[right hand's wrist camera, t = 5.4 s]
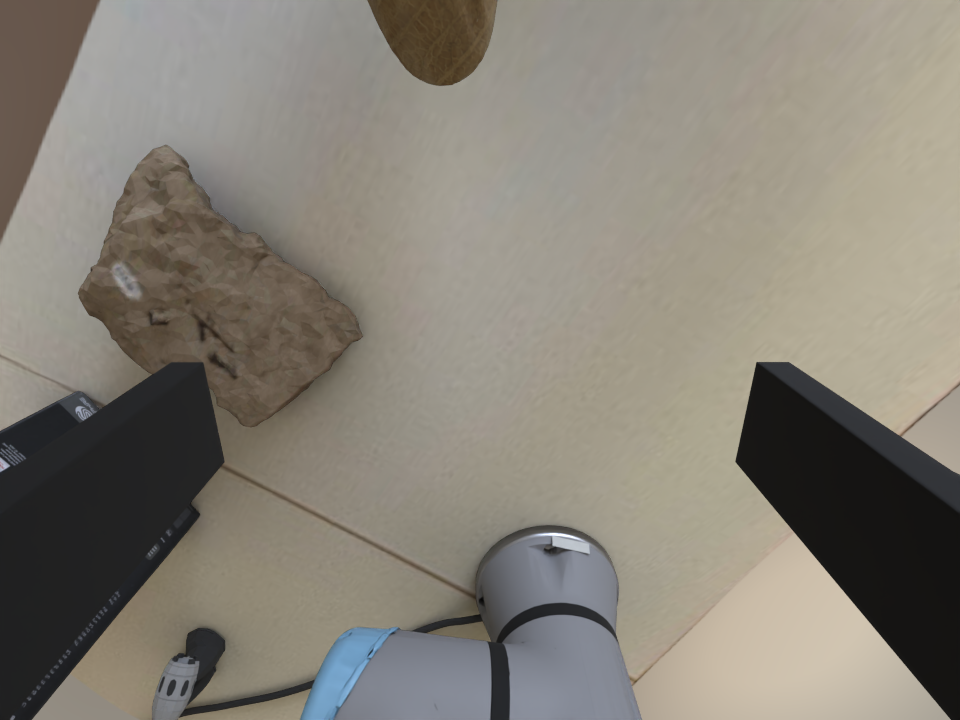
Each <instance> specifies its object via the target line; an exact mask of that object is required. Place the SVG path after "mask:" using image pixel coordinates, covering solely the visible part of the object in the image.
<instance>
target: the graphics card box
mask: <svg viewBox="0 0 960 720" xmlns="http://www.w3.org/2000/svg"><path fill="white" fill-rule="evenodd" d="M97 411H99V408H98V407H97V406H96V405H95V404H94V403H93V402H92V401H91V400H90V399H89V398H88V397H87V396H86V395H85V394H84V393H82V392H80V391H77V392H75V393H73V394H71V395H69V396H67V397H65V398H63V399H61V400H59V401H57V402H55V403H53V404H51V405H49V406H47V407H45V408H43V409H42V410H40V411H38V412H36V413H34V414H32V415H30V416H28V417H26V418H24V419H22V420H20V421H18V422H16V423H15V424H13V425H11V426H9V427H7V428H5V429H3V430H1V431H0V476H1V475H3V474H4V473H6V472H7V471H9V470H10V469H12V468H13V467H15V466H16V465H18V464H19V463H21V462H22V461H24V460H25V459H27V458H28V457H30V456H31V455H33V454H34V453H36V452H37V451H39V450H40V449H42V448H43V447H45V446H46V445H48V444H49V443H51V442H52V441H54V440H55V439H57V438H58V437H60V436H61V435H63V434H64V433H66V432H67V431H69V430H70V429H72V428H73V427H75V426H76V425H78V424H79V423H81V422H82V421H84V420H85V419H87V418H88V417H90V416H91V415H93V414H94V413H96V412H97ZM199 516H200V513H199V512H198V511H197V510H196V509H195V508H194V507H193V506H192V505H191V504H189V505H188V506H187V507H186V509H185V510H184V511H183V512H182V513H181V515H180V516H179V517H178V518H177V519H176V521H175V522H174V523H173V524H172V525H171V527H170V528H169V529H168V530H167V531H166V532H165V534H164V535H163V536H162V537H161V538H160V540H159V541H158V542H157V543H156V544H155V546H154V547H153V548H152V549H151V550H150V552H149V553H148V554H147V555H146V556H145V558H144V559H143V560H142V561H141V562H140V564H139V565H138V566H137V567H136V568H135V570H134V571H133V572H132V573H131V574H130V576H129V577H128V578H127V579H126V580H125V582H124V583H123V584H122V585H121V586H120V588H119V589H118V590H117V591H116V592H115V594H114V595H113V596H112V597H111V598H110V599H109V601H108V602H107V603H106V604H105V605H104V607H103V608H102V609H101V610H100V611H99V613H98V614H97V615H96V616H95V617H94V619H93V620H92V621H91V622H90V623H89V625H88V626H87V627H86V628H85V629H84V631H83V632H82V633H81V634H80V635H79V637H78V638H77V639H76V640H75V641H74V643H73V644H72V645H71V646H70V647H69V649H68V650H67V651H66V652H65V653H64V655H63V656H62V657H61V658H60V659H59V660H58V662H57V663H56V664H55V665H54V666H53V668H52V669H51V670H50V671H49V672H48V674H47V675H46V676H45V677H44V678H43V680H42V681H41V682H40V683H39V684H38V686H37V687H36V688H35V689H34V690H33V692H32V693H31V694H30V695H29V696H28V698H27V699H26V700H25V701H24V702H23V704H22V705H21V706H20V707H19V708H18V710H17V711H16V712H15V713H14V714H13V716H12V717H11V718H10V719H9V720H32V719H33V718H34V716H35V715H36V714H37V713H38V712H39V710H40V709H41V708H42V707H43V705H44V704H45V703H46V702H47V701H48V699H49V698H50V697H51V696H52V694H53V693H54V692H55V691H56V689H57V688H58V687H59V686H60V685H61V684H62V682H63V681H64V680H65V679H66V677H67V676H68V675H69V674H70V672H71V671H72V670H73V669H74V667H75V666H76V665H77V664H78V663H79V662H80V660H81V659H82V658H83V657H84V655H85V654H86V653H87V652H88V651H89V649H90V648H91V647H92V646H93V644H94V643H95V642H96V641H97V640H98V638H99V637H100V636H101V635H102V633H103V632H104V631H105V630H106V629H107V627H108V626H109V625H110V624H111V622H112V621H113V620H114V619H115V618H116V616H117V615H118V614H119V613H120V612H121V610H122V609H123V608H124V607H125V605H126V604H127V603H128V602H129V601H130V600H131V598H132V597H133V596H134V595H135V594H136V593H137V591H138V590H139V589H140V588H141V587H142V586H143V584H144V583H145V582H146V581H147V580H148V578H149V577H150V576H151V575H152V574H153V573H154V571H155V570H156V569H157V568H158V567H159V565H160V564H161V563H162V562H163V561H164V559H165V558H166V557H167V556H168V555H169V554H170V552H171V551H172V549H173V548H174V547H175V546H176V545H177V543H178V542H179V541H180V540H181V538H182V537H183V536H184V535H185V534H186V533H187V531H188V530H189V529H190V528H191V526H192V525H193V524H194V523H195V522H196V520H197V519H198V517H199Z"/></svg>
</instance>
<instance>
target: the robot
mask: <svg viewBox="0 0 960 720" xmlns="http://www.w3.org/2000/svg"><path fill="white" fill-rule="evenodd" d="M224 651H225V640H224V639H222V638H221V637H220V636H219V635H218V634H216V633H215V632H214V631H211V630H209V629H201V628H198V629H196V630H194V631H192V632H190V633H188V635H187V640H186V655H184V653H179V654H178V655H177V656H174V657H173V658H171V660H170V662H169V663H168V665H167V666H166V668H165V669H164V672H163V674H162V676H161V679H160V681H159V684H158V687H157V690H156V693H155V697H154V701H153V706H152V719H153V720H178V718H179V716H180V715H181V714H182V712H183V711H184V709H185V708H186V706H187V705H188V704H189V703H190V702H191V701H192V700H193V699H194V698H196V696H197V695H198V694H199V693H200V692H201V691H202V690H203V689H204V688H205V687H206V685H207V684H208V683H209V681H210V679H211V678H212V676H213V674H214V673H215V672H216V668H215V664H216V663H217V662H218V661H219V658H220V657H221V655H222V654H223V652H224Z"/></svg>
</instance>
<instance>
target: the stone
mask: <svg viewBox="0 0 960 720" xmlns="http://www.w3.org/2000/svg"><path fill="white" fill-rule="evenodd" d="M188 168H189V165H188V163H187V161H186V160H185V159H184V158H183V157H182V156H181V155H179V154H178V153H176V152H175V151H174V150H173V149H172V148H171V147H169V146H168V145H164V146H162V147H159V148H156V149H153V150H152V151H151V152H150V153H149V154H148V155H147V156H146V157H145V158H144V159H143V160H142V161H141V162H140V163H139V164H138V165H137V167H136V169H135V171H134V172H133V173H132V174H131V175H130V177H129V179H128V181H127V183H126V185H125V188H124V193H123V195H122V196H121V198H120V199H119V200H118V201H117V204H116V208H115V209H114V211H113V221H112V224H111V226H110V228H109V232H108V234H107V236H106V238H105V240H104V246H103V248H102V251H101V255H100V259H99V260H98V263H97V265H94V266H93V267H91V272H90V273H89V274H88V276H87V278H86V280H85V281H84V283H83V284H82V286H81V287H80V289H79V292H78V295H79V299H80V300H81V302H82V304H83V306H84V308H85V309H86V311H87V313H88V314H89V315H90V316H93V317H96V318H97V319H99V320H100V321H102V322H103V323H104V325H105V326H106V327H107V329H108V330H109V332H110V335H111V338H112V339H113V340H115V341H116V342H117V343H118V345H119V346H120V348H121V349H122V350H123V351H124V352H125V353H126V354H127V355H128V356H129V357H130V358H131V359H132V360H134V361H135V362H136V363H137V364H138V365H140V366H141V367H142V368H143V369H145V370H146V371H148V372H149V373H151V374H154V373H156V372H157V371H159V370H160V369H162V368H163V367H165V366H166V365H168V364H169V363H171V362H203V363H204V367H205V372H206V377H207V382H208V386H209V388H210V389H212V390H213V392H214V394H215V395H216V398H217V405H218V406H220V407H222V408H224V409H226V410H228V411H229V412H231V413H232V414H233V415H234V416H235V417H236V418H237V419H238V421H239V422H240V423H241V424H242V425H243V426H247V427H254V426H257V425H258V424H260V423H261V422H262V421H264V420H266V419H268V418H270V417H271V416H272V415H274V414H275V413H276V412H278V411H279V410H281V409H282V408H283V407H285V406H286V405H287V404H288V403H290V402H291V401H292V400H294V399H295V398H296V397H297V396H298V395H299V394H300V393H301V392H303V391H304V390H306V389H307V388H308V387H309V386H310V384H311V383H312V382H313V381H314V379H316V378H317V377H319V376H320V375H322V374H323V373H325V372H327V371H328V370H330V368H331V366H332V364H333V362H334V361H335V360H336V359H337V358H338V357H339V356H340V355H341V354H342V352H343V351H344V350H345V349H346V348H347V347H348V346H349V345H350V344H351V343H352V342H354V341H358V340H359V339H361V338H362V337H363V336H362V333H361V331H360V329H359V323H358V321H357V320H356V316H355V315H354V314H353V313H352V311H351V310H350V309H349V308H348V307H347V306H345V305H344V304H342V303H341V302H340V301H337V300H335V299H332V298H330V297H328V295H327V292H326V290H325V289H324V288H323V287H322V286H321V285H320V284H319V282H318V281H317V280H315V279H314V278H312V277H311V276H309V275H307V274H304V273H302V272H300V271H299V270H298V269H296V268H295V267H293V266H292V265H290V264H288V263H285V262H284V261H283V259H282V258H281V257H280V256H278V255H276V254H275V253H273V252H272V250H271V249H270V247H269V246H268V245H267V244H266V243H265V242H264V240H263V239H262V238H261V236H259V235H258V234H256V233H249V234H247V233H243V232H240V230H239V229H238V228H237V226H235V225H233V224H232V223H230V222H228V221H227V219H226V218H225V217H224V216H223V215H220V214H219V213H217V212H216V211H214V210H212V207H211V204H210V198H209V196H208V195H207V194H206V192H205V191H204V190H203V188H202V187H201V186H199V185H198V184H197V183H196V182H195V181H194V180H193V178H192V175H191V173H190V171H189V169H188Z"/></svg>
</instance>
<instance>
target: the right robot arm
mask: <svg viewBox="0 0 960 720" xmlns="http://www.w3.org/2000/svg"><path fill="white" fill-rule="evenodd" d="M223 463H224V457H223V452H222V447H221V443H220V438H219V433H218V429H217V424H216V419H215V414H214V410H213V405H212V400H211V396H210V391H209V386H208V382H207V377H206V372H205V367H204V363H203V362H171V363H169V364H168V365H166V366H165V367H163V368H162V369H160V370H159V371H157V372H156V373H154V374H153V375H151V376H150V377H148V378H147V379H145V380H144V381H142V382H141V383H139V384H138V385H136V386H135V387H133V388H132V389H130V390H129V391H127V392H126V393H124V394H123V395H121V396H120V397H118V398H117V399H115V400H114V401H112V402H111V403H109V404H108V405H106V406H105V407H103V408H102V409H100V410H99V411H97V412H96V413H94V414H93V415H91V416H90V417H88V418H87V419H85V420H84V421H82V422H81V423H79V424H78V425H76V426H75V427H73V428H72V429H70V430H69V431H67V432H66V433H64V434H63V435H61V436H60V437H58V438H57V439H55V440H54V441H52V442H51V443H49V444H48V445H46V446H45V447H43V448H42V449H40V450H39V451H37V452H36V453H34V454H33V455H31V456H30V457H28V458H27V459H25V460H24V461H22V462H21V463H19V464H18V465H16V466H15V467H13V468H12V469H10V470H9V471H7V472H6V473H4V474H3V475H1V476H0V720H9V719H10V718H11V717H12V716H13V714H14V713H15V712H16V711H17V710H18V708H19V707H20V706H21V705H22V704H23V702H24V701H25V700H26V699H27V698H28V696H29V695H30V694H31V693H32V692H33V690H34V689H35V688H36V687H37V686H38V684H39V683H40V682H41V681H42V680H43V678H44V677H45V676H46V675H47V674H48V672H49V671H50V670H51V669H52V668H53V666H54V665H55V664H56V663H57V662H58V660H59V659H60V658H61V657H62V656H63V655H64V653H65V652H66V651H67V650H68V649H69V647H70V646H71V645H72V644H73V643H74V641H75V640H76V639H77V638H78V637H79V635H80V634H81V633H82V632H83V631H84V629H85V628H86V627H87V626H88V625H89V623H90V622H91V621H92V620H93V619H94V617H95V616H96V615H97V614H98V613H99V611H100V610H101V609H102V608H103V607H104V605H105V604H106V603H107V602H108V601H109V599H110V598H111V597H112V596H113V595H114V594H115V592H116V591H117V590H118V589H119V588H120V586H121V585H122V584H123V583H124V582H125V580H126V579H127V578H128V577H129V576H130V574H131V573H132V572H133V571H134V570H135V568H136V567H137V566H138V565H139V564H140V562H141V561H142V560H143V559H144V558H145V556H146V555H147V554H148V553H149V552H150V550H151V549H152V548H153V547H154V546H155V544H156V543H157V542H158V541H159V540H160V538H161V537H162V536H163V535H164V534H165V532H166V531H167V530H168V529H169V528H170V527H171V525H172V524H173V523H174V522H175V521H176V519H177V518H178V517H179V516H180V515H181V513H182V512H183V511H184V510H185V509H186V507H187V506H188V505H189V504H190V503H191V501H192V500H193V499H194V498H195V497H196V495H197V494H198V493H199V492H200V491H201V489H202V488H203V487H204V486H205V485H206V483H207V482H208V481H209V480H210V479H211V477H212V476H213V475H214V474H215V473H216V471H217V470H218V469H219V468H220V467H221V465H222V464H223ZM736 463H737V464H738V465H739V467H740V468H741V469H742V470H743V471H744V473H745V474H746V475H747V476H748V477H749V479H750V480H751V481H752V482H753V483H754V485H755V486H756V487H757V488H758V489H759V491H760V492H761V493H762V494H763V495H764V497H765V498H766V499H767V500H768V501H769V503H770V504H771V505H772V506H773V507H774V509H775V510H776V511H777V512H778V513H779V515H780V516H781V517H782V518H783V519H784V521H785V522H786V523H787V524H788V525H789V527H790V528H791V529H792V530H793V531H794V532H795V534H796V535H797V536H798V537H799V538H800V540H801V541H802V542H803V543H804V544H805V546H806V547H807V548H808V549H809V550H810V552H811V553H812V554H813V555H814V556H815V558H816V559H817V560H818V561H819V562H820V564H821V565H822V566H823V567H824V568H825V570H826V571H827V572H828V573H829V574H830V576H831V577H832V578H833V579H834V580H835V582H836V583H837V584H838V585H839V586H840V588H841V589H842V590H843V591H844V592H845V594H846V595H847V596H848V597H849V598H850V599H851V601H852V602H853V603H854V604H855V605H856V607H857V608H858V609H859V610H860V611H861V613H862V614H863V615H864V616H865V617H866V619H867V620H868V621H869V622H870V623H871V624H872V626H873V627H874V628H875V629H876V631H877V632H878V633H879V634H880V635H881V637H882V638H883V639H884V640H885V641H886V642H887V644H888V645H889V646H890V647H891V649H892V650H893V651H894V652H895V653H896V654H897V656H898V657H899V658H900V659H901V660H902V662H903V663H904V664H905V665H906V666H907V668H908V669H909V670H910V671H911V672H912V674H913V675H914V676H915V677H916V678H917V680H918V681H919V682H920V683H921V684H922V686H923V687H924V688H925V689H926V690H927V692H928V693H929V694H930V695H931V696H932V698H933V699H934V700H935V701H936V702H937V704H938V705H939V706H940V707H941V708H942V710H943V711H944V712H945V713H946V714H947V716H948V717H949V718H950V719H951V720H960V475H959V474H957V473H955V472H953V471H951V470H950V469H948V468H947V467H945V466H944V465H942V464H941V463H939V462H938V461H936V460H935V459H933V458H932V457H930V456H929V455H927V454H926V453H924V452H923V451H921V450H920V449H918V448H917V447H915V446H914V445H912V444H911V443H909V442H908V441H906V440H905V439H903V438H902V437H900V436H899V435H897V434H896V433H894V432H893V431H891V430H890V429H888V428H887V427H885V426H884V425H882V424H881V423H879V422H878V421H876V420H875V419H873V418H872V417H870V416H869V415H867V414H866V413H864V412H863V411H861V410H860V409H858V408H857V407H855V406H854V405H852V404H851V403H849V402H848V401H846V400H845V399H843V398H842V397H840V396H839V395H837V394H836V393H834V392H833V391H831V390H830V389H828V388H827V387H825V386H824V385H822V384H821V383H819V382H818V381H816V380H815V379H813V378H812V377H810V376H809V375H807V374H806V373H804V372H803V371H801V370H800V369H798V368H797V367H795V366H794V365H792V364H791V363H789V362H757V363H756V367H755V372H754V377H753V382H752V386H751V391H750V396H749V400H748V405H747V410H746V414H745V419H744V424H743V429H742V433H741V438H740V443H739V447H738V452H737V457H736ZM618 596H619V585H618V579H617V575H616V573H615V570H614V567H613V564H612V561H611V559H610V557H609V555H608V554H607V552H606V551H605V550H604V548H603V547H602V546H601V545H600V544H599V543H598V542H597V541H595V540H594V539H593V538H591V537H589V536H588V535H586V534H584V533H582V532H580V531H577V530H574V529H571V528H566V527H561V526H537V527H531V528H526V529H523V530H520V531H517V532H515V533H512V534H510V535H508V536H507V537H505V538H503V539H502V540H500V541H499V542H498V543H496V544H495V545H494V546H493V547H492V548H491V549H490V550H489V551H488V552H487V554H486V555H485V556H484V558H483V560H482V561H481V563H480V566H479V568H478V571H477V576H476V602H477V607H478V609H479V612H480V614H479V615H473V616H467V617H461V618H452V619H446V620H442V621H439V622H435V623H432V624H429V625H426V626H423V627H421V628H418V629H416V630H413V631H405V630H401V629H400V628H398V627H393V628H390V629H377V628H364V627H357V628H352V629H350V630H348V631H346V632H344V633H343V634H342V635H341V636H340V637H339V638H338V639H337V640H336V641H335V643H334V644H333V646H332V647H331V649H330V650H329V652H328V654H327V656H326V657H325V659H324V661H323V663H322V665H321V668H320V670H319V672H318V674H317V676H316V679H315V680H313V681H310V682H307V683H304V684H301V685H298V686H295V687H292V688H288V689H285V690H281V691H278V692H274V693H269V694H265V695H260V696H255V697H250V698H244V699H239V700H234V701H229V702H224V703H219V704H213V705H206V706H199V707H193V708H188V709H184V711H183V712H182V714H181V715H180V716H179V717H183V716H187V715H192V714H198V713H205V712H211V711H218V710H223V709H228V708H233V707H238V706H244V705H249V704H254V703H260V702H264V701H269V700H273V699H277V698H281V697H285V696H288V695H292V694H295V693H298V692H301V691H305V690H308V689H310V688H311V691H310V693H309V696H308V699H307V701H306V704H305V707H304V710H303V712H302V715H301V718H300V720H642V718H641V715H640V711H639V708H638V705H637V702H636V698H635V695H634V692H633V689H632V685H631V682H630V679H629V676H628V672H627V669H626V666H625V662H624V659H623V656H622V653H621V649H620V647H619V643H618V640H617V636H616V616H617V604H618ZM481 621H483V622H484V625H485V627H486V630H487V632H488V634H489V637H490V639H491V642H488V641H482V640H473V639H465V638H457V637H449V636H442V635H434V634H427V632H430V631H433V630H436V629H440V628H443V627H447V626H453V625H463V624H469V623H475V622H481Z"/></svg>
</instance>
